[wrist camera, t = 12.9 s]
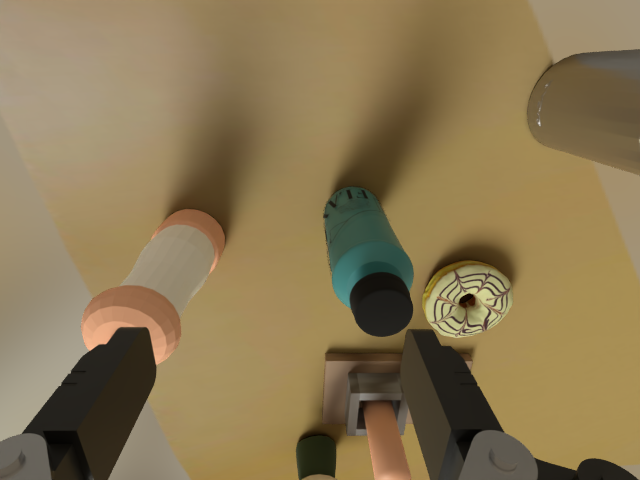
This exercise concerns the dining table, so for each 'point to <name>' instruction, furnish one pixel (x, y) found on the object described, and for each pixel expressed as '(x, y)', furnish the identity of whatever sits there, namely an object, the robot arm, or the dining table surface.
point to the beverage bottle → (368, 262)
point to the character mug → (316, 458)
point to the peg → (385, 441)
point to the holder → (364, 388)
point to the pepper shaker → (159, 283)
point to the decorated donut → (474, 314)
